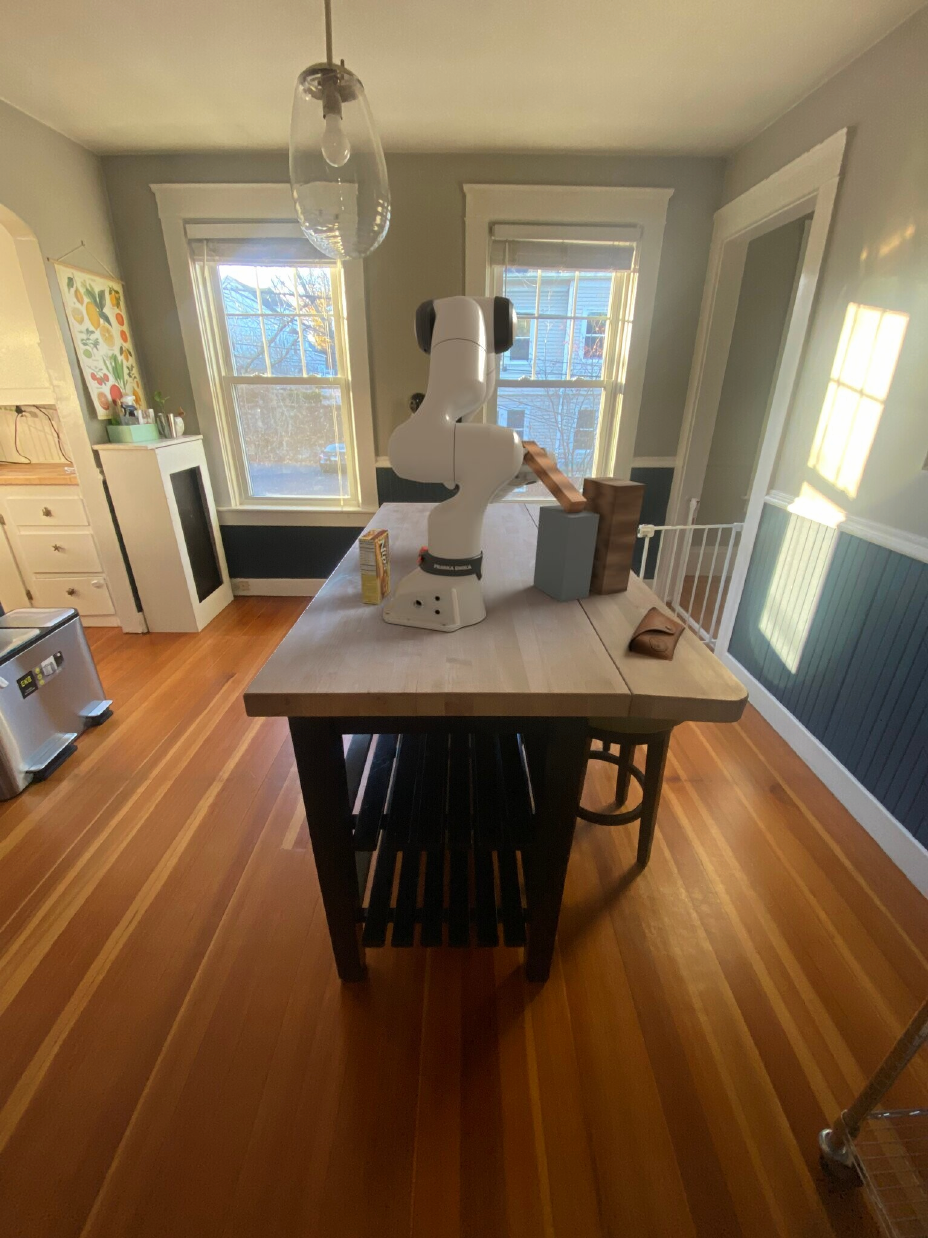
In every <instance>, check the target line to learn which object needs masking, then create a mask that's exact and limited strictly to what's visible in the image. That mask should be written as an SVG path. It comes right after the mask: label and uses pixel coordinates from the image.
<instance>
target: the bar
mask: <svg viewBox="0 0 928 1238" xmlns="http://www.w3.org/2000/svg"><path fill="white" fill-rule="evenodd" d="M521 442H522V445H523V448H528V452H529V454H528V455H527V456H526V457H523V460H524V461H525V462H526V463H527V464H528V466H529V467H530V468H531V469H532V470H533V472H534V473H535V474H536V475H537V477H538V478H539V479H540V482H542V484H543V485H544V486H545V488H546V489H547V490H548V491H549V492H550V494H551V495H552V496H553V497H554V499H556V501H557V502H558V503H559V505H561V506H562V507H563V508H564V509H565V511H566V512H567V513H574V512H582V510H583V508H584V506H585V504H586V501H587V500H586V499H585V498H584V497H583V496H582V492H581V493H580V491H579V490H578V489H577V488H576V487H575V485H574V484H573V483H572V482H571V481H570V479H569V478H568V477H567V476H566V475H565V474H564V473H563V471H561V470H560V468H559V467H558V465H557V466H556V465H555V464H554V463H553V462H552V461H551V459H550V458H549V457H548V456H547V455H546V454H545V453H544V451H543V450H542V449H541V448H542V447H540V446H539V444H538V443H537V442H536V441H535V440H521Z"/></svg>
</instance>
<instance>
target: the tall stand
mask: <svg viewBox="0 0 928 1238" xmlns="http://www.w3.org/2000/svg"><path fill="white" fill-rule="evenodd" d="M582 485H583V486H582V492H581V495H582V496H583V497H584V498H585V499H586V500H587V501H586V504H585V506H584V508H583V509H584V510H587V511H590V512H593V513H596V514H599V522H598V529H597V537H596V544H595V551H594V559H593V566H592V573H591V581H590V588H589V590H591V591H593V592H595V593H597V594H599V595H601V596H605V595H608V594H609V595H610V594H615V593H621V592H627V591H628V588H629V587H628V586H629V583H630V582H629V581H630V575H631V570H632V563H633V559H634V552H635V547H636V541H637V536H638V535H637V534H638V528H639V523H640V518H641V517H640V516H641V511H642V506H643V500H644V499H643V498H644V495H645V494H644V493H645V488H646V484H645V483H640V482H635V481H631V480H626V479H624V478H623V479H622V478H617V477H612V476H602V477H584V478H583V484H582Z"/></svg>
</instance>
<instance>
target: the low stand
mask: <svg viewBox="0 0 928 1238" xmlns="http://www.w3.org/2000/svg"><path fill="white" fill-rule="evenodd" d="M538 513H539V515H538V516H539V517H538V524H537V540H536V548H535V550H536V551H535V563H534V572H533V574H534V575H533V586H534V587H535V588H537V589H539V590H540V591H542V592H544V593H545V594H547V595H548V596H550V597H551V598H553V599H555V600H556V601H558V602H559V603H563V602H570V601H571V602H572V601H575V600H581V599H587V598H589V596H590V595H589V594H590V589H589V588H590V581H591V573H592V566H593V559H594V551H595V544H596V537H597V529H598V522H599V514H596V513H593V512H590V511H587V510H584V509H583V510H582V512H574V513H567V512H566V511H565V509H564V508H563V507H562V506H561V505H560V504H555V505H554V504H553V505H544V506H540V507H539V511H538Z"/></svg>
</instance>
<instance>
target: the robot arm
mask: <svg viewBox="0 0 928 1238" xmlns="http://www.w3.org/2000/svg"><path fill="white" fill-rule="evenodd" d="M517 315H518V314H517V312H516V309H515V307H514V303H513V301H511V300H510V298H508V297H504V296H500V295H495V296H494V297H491V296H490V297H489V296H479V295H478V296H475V295H474V296H473V295H471V296H469V295H468V296H465V295H455V296H450V297H449V296H448V297H444V298H438V299H435V298H430V299H427V300H425V301H422V302H421V303H420V304H419V306H418V307H417V308H416V311H415V317H414V320H413V322H414V323H413V331H414V335H415V339H416V341H417V344H418V348H419V350H421V351H422V352H423V353H424V354H425V355H429V356H430V357H429V358H430V361H429V374H428V383H427V389H426V393H425V396H424V398H423V400H422V402H421V404H420V405H419V407H417V408H418V409H417V410H416V411H415V412H414V413H413V415H411V417H409V418H408V419H407V420H406V421H405V422H403V423H402V424H400V425H398V426H397V427H396V428H395V429H394V430H393V431H392V433H391V435H390V436H389V440H388V443H387V457H388V461H389V464H390V467H391V468H392V470H393V472H395V474H396V475H397V476H398V477H399V478H401V479H406V480H409V481H414V482H419V483H433V484H434V483H435V484H436V483H438V484H440V483H441V484H443V485H442V486H444V487H445V488H446V489H447V490H449V491H452V492H453V493H456V494H455V495H454V496H453V497H451V498H448V499H446V500H444V501H442V502H439V503H438V504H437V505H435V506H434V507H433V508H432V509H431V510H430V511H429V513H428V515H427V546H425V545H424V546H421V548H420V550H419V552H418V553H419V554H418V557H417V558H418V559H417V561H418V567H416V569H414V570H412V572H410V573H409V574H407V575H406V576H403V578H402V579H400V581H399V582H398V583H397V585H396V586H395V589H394V593H393V597H392V598H390V600H389V601H388V602H386V604H385V605H384V608H383V610H382V619H383V620H384V622H385V623H388V624H395V625H400V626H401V625H402V626H408V627H414V628H420V629H428V630H436V631H440V632H448V633H450V632H454V631H457V630H459V629H461V628H463V627H467V626H470V625H471V626H472V625H474V624H477V623H479V622H481V621H483V620H484V619H485V618H486V616H487V610H486V607H485V602H484V597H483V589H482V588H483V587H482V578H483V575H484V574H483V573H484V553H483V551H482V540H483V538H482V536H483V527H484V520H485V516H486V513H487V512H486V511H487V509H488V507H489V505H493V504H496V503H498V502H500V501H502V500H503V499H505V498H506V497H507V496H508V495H510V493H512V492H514V491H515V490H516V489H519V488H522V487H525V486H529V485H533V484H537V483H539V482H541V480H540V479H539V478H538V477H537V475H536V474H535V473H534V472H533V470H532V469H531V468H530V467H529V466H528V464H527V463H526V462H525V461H524V460H523V457H526V456H527V455H528V454H529V452H528V448H523V445H522V442H521V441H522V440H521V438H520V436H519V434H518V433H517V431H515V429H514V428H510V427H509V426H508V427H507V426H504V425H498V424H494V423H486V422H485V423H484V422H483V423H481V422H480V423H479V422H471V421H472V420H473V418H474V416H476V414H477V413H478V412H479V411H480V410H481V408H483V406H485V404H486V403H487V402H488V401H489V400H490V398H492V396H493V393H494V390H495V385H496V360H495V359H496V358H495V355H500V354H503V353H506V352H509V351H510V349H511V348H512V347H513V346H514V342H515V339H516V336H517V333H518V329H519V321H518V316H517ZM540 448H541V449H542V450H543V451H544V453H545V454H546V455H547V456H548V457H549V458H550V459H551V461H552V462H553V463H554V464H555V465H556V466H557V467H558V457H557V454H556V453H555V451H548V450H547V447H540Z"/></svg>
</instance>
